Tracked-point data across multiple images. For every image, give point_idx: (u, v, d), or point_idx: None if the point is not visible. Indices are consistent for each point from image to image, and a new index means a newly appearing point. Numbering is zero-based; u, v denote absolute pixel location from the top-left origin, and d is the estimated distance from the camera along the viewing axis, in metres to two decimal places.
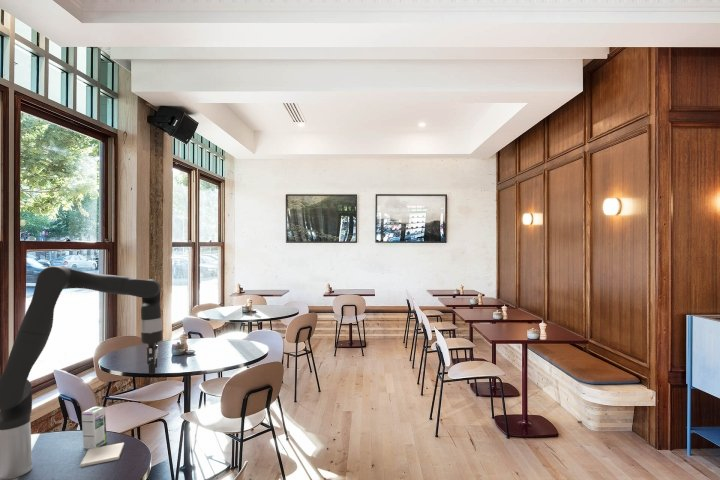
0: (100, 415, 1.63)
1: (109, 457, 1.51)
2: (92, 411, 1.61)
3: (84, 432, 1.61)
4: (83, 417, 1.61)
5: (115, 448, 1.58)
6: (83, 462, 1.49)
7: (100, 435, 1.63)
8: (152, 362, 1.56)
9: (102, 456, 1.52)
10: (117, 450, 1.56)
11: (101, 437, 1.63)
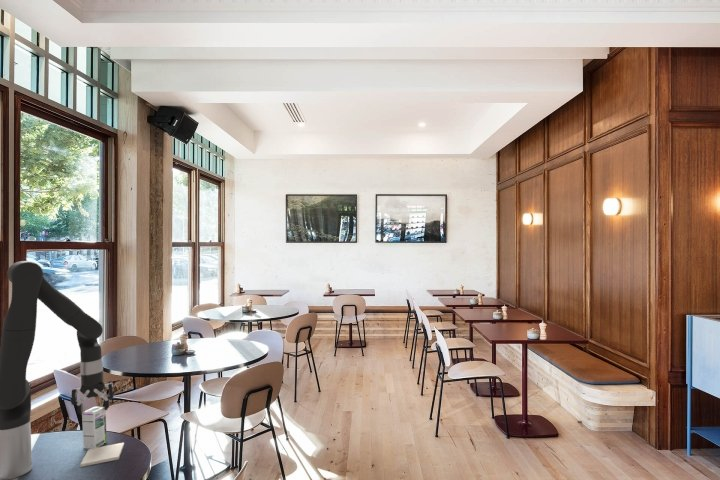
0: (100, 415, 1.64)
1: (109, 457, 1.51)
2: (92, 411, 1.62)
3: (84, 432, 1.61)
4: (83, 417, 1.61)
5: (115, 448, 1.58)
6: (83, 462, 1.49)
7: (100, 435, 1.63)
8: (113, 395, 1.67)
9: (102, 456, 1.52)
10: (117, 450, 1.56)
11: (101, 437, 1.63)
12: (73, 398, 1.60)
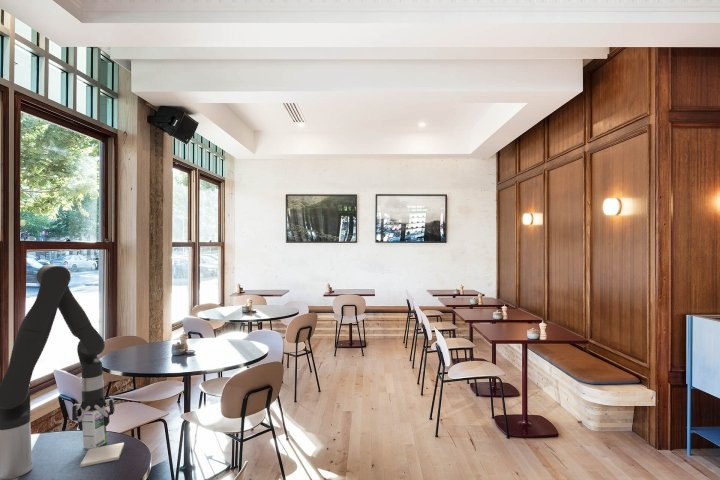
0: (100, 415, 1.63)
1: (109, 457, 1.51)
2: (92, 411, 1.61)
3: (84, 432, 1.61)
4: (83, 417, 1.61)
5: (115, 448, 1.58)
6: (83, 462, 1.49)
7: (100, 435, 1.63)
8: (113, 411, 1.67)
9: (102, 456, 1.52)
10: (117, 450, 1.56)
11: (101, 437, 1.63)
12: (74, 414, 1.60)
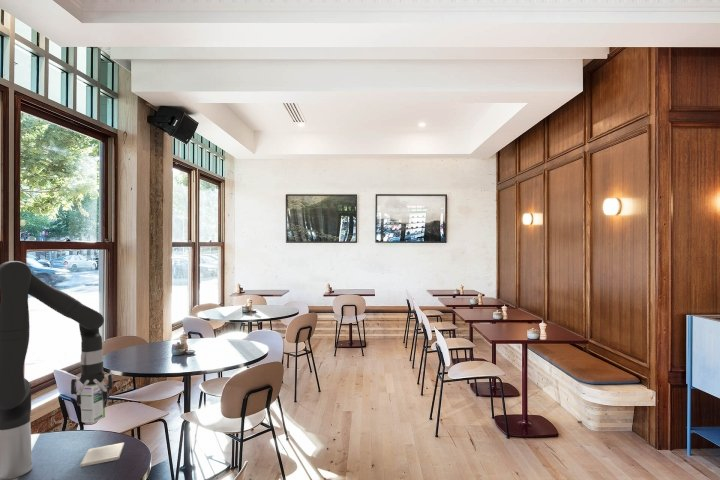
0: (99, 390, 1.64)
1: (109, 457, 1.51)
2: (91, 385, 1.62)
3: (82, 406, 1.61)
4: (82, 391, 1.61)
5: (115, 448, 1.58)
6: (83, 462, 1.49)
7: (99, 410, 1.63)
8: (112, 386, 1.67)
9: (102, 456, 1.52)
10: (117, 450, 1.56)
11: (99, 411, 1.63)
12: (73, 388, 1.60)
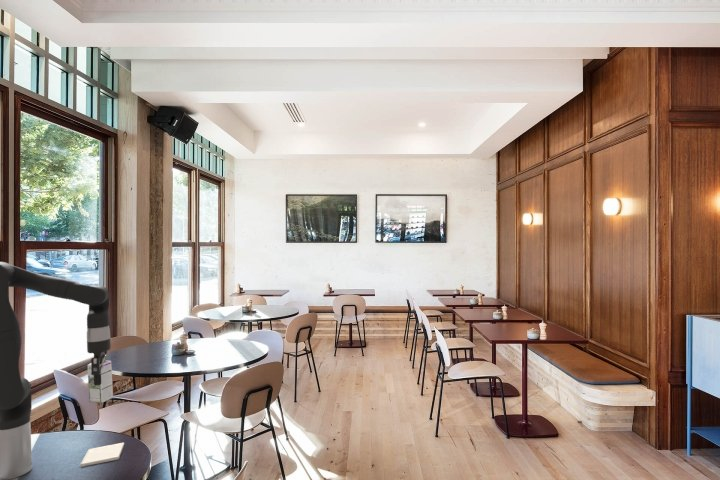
0: None
1: (109, 457, 1.51)
2: (107, 361, 1.56)
3: (102, 385, 1.53)
4: None
5: (115, 448, 1.58)
6: (83, 462, 1.49)
7: None
8: None
9: (102, 456, 1.52)
10: (117, 450, 1.56)
11: None
12: (99, 367, 1.50)
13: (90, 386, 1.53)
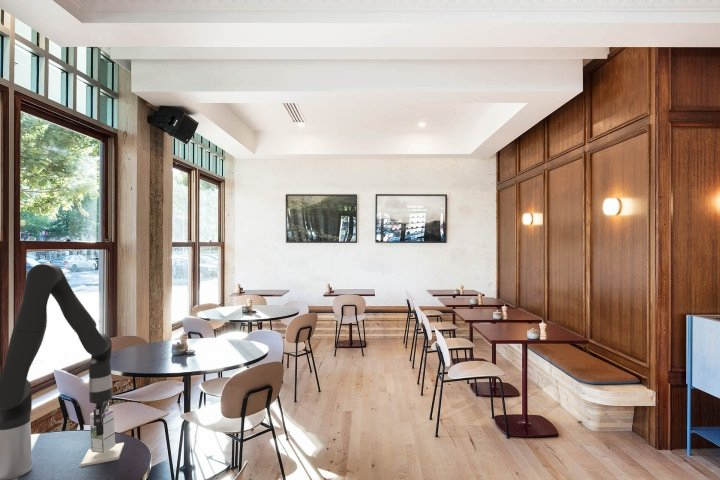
0: None
1: (109, 457, 1.51)
2: (109, 409, 1.56)
3: (105, 435, 1.53)
4: (104, 419, 1.53)
5: (115, 448, 1.58)
6: (83, 462, 1.49)
7: None
8: None
9: (102, 456, 1.52)
10: (117, 450, 1.56)
11: None
12: (101, 418, 1.50)
13: (92, 436, 1.53)
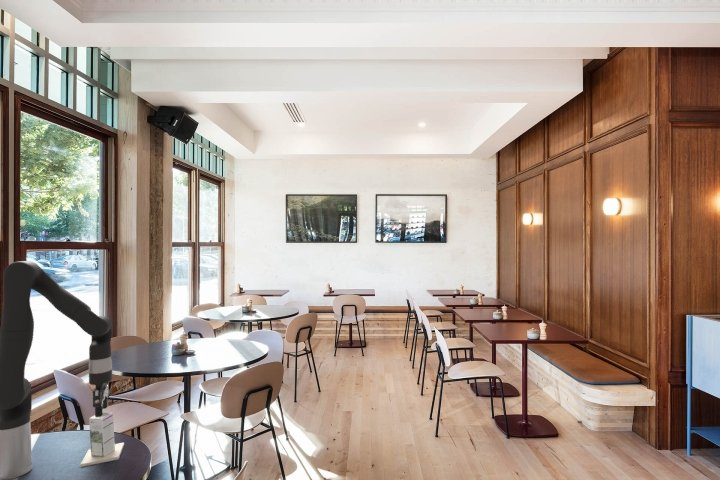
0: None
1: (109, 457, 1.51)
2: (108, 413, 1.56)
3: (104, 438, 1.53)
4: (103, 423, 1.52)
5: (115, 448, 1.58)
6: (83, 462, 1.49)
7: None
8: None
9: None
10: (117, 450, 1.56)
11: None
12: (100, 399, 1.50)
13: (92, 440, 1.52)
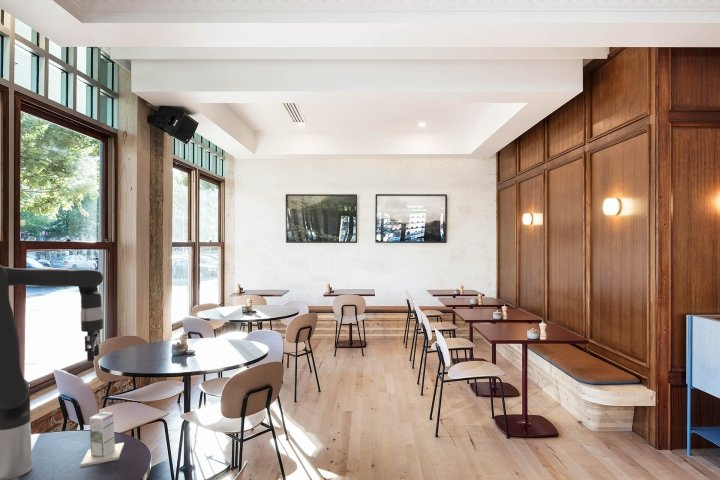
0: None
1: (109, 457, 1.51)
2: (109, 413, 1.56)
3: (105, 438, 1.53)
4: (104, 423, 1.52)
5: (115, 448, 1.58)
6: (83, 462, 1.49)
7: None
8: None
9: None
10: (117, 450, 1.56)
11: None
12: (92, 344, 1.61)
13: (92, 440, 1.53)
